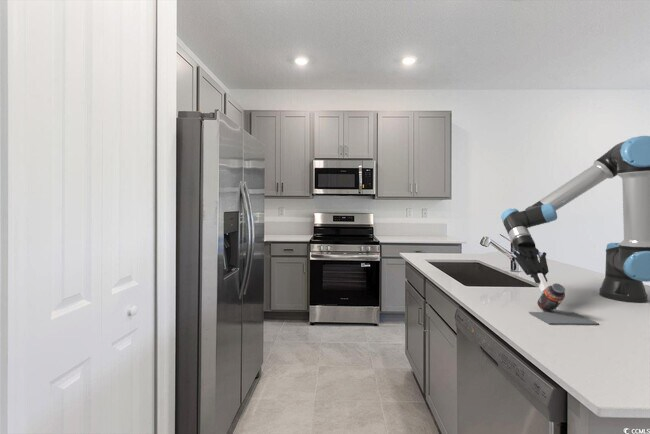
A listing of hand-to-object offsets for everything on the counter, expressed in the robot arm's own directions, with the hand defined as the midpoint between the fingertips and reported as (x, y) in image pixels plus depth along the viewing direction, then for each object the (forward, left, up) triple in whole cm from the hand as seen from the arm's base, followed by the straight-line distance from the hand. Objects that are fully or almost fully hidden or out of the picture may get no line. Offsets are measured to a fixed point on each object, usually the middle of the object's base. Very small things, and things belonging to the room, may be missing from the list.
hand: (545, 290), depth 120 cm
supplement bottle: (-1, -1, -6) cm, 6 cm away
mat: (-1, +7, -8) cm, 11 cm away
